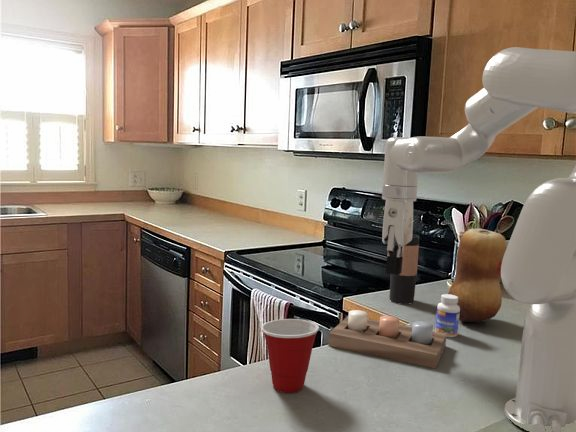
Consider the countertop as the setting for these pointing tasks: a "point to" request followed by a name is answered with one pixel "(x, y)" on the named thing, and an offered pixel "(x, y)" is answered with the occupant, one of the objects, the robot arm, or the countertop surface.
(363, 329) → the cream button
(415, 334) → the slate button
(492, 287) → the butternut squash
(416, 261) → the travel mug
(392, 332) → the terracotta button
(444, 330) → the pill bottle
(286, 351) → the plastic cup
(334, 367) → the countertop surface
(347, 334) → the walnut panel
